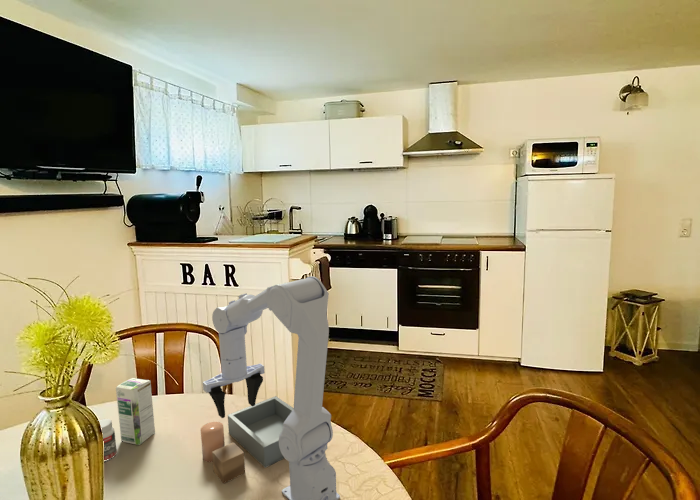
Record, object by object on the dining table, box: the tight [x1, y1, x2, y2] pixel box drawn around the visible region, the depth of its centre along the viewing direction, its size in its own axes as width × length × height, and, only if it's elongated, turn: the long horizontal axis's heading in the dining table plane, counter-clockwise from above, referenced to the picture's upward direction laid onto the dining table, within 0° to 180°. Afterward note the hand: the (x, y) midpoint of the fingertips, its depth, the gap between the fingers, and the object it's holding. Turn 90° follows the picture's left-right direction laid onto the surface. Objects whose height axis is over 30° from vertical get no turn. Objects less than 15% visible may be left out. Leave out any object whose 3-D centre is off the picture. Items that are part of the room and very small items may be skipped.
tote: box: [227, 395, 294, 468], centre depth 105 cm, size 18×14×5 cm
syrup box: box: [115, 377, 156, 446], centre depth 106 cm, size 6×6×14 cm
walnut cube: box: [212, 441, 246, 484], centre depth 93 cm, size 5×5×5 cm
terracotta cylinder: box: [200, 421, 226, 463], centre depth 99 cm, size 5×5×7 cm
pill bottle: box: [98, 418, 118, 460], centre depth 99 cm, size 5×5×8 cm
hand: (237, 410), depth 101 cm, fingers open, 7 cm apart
